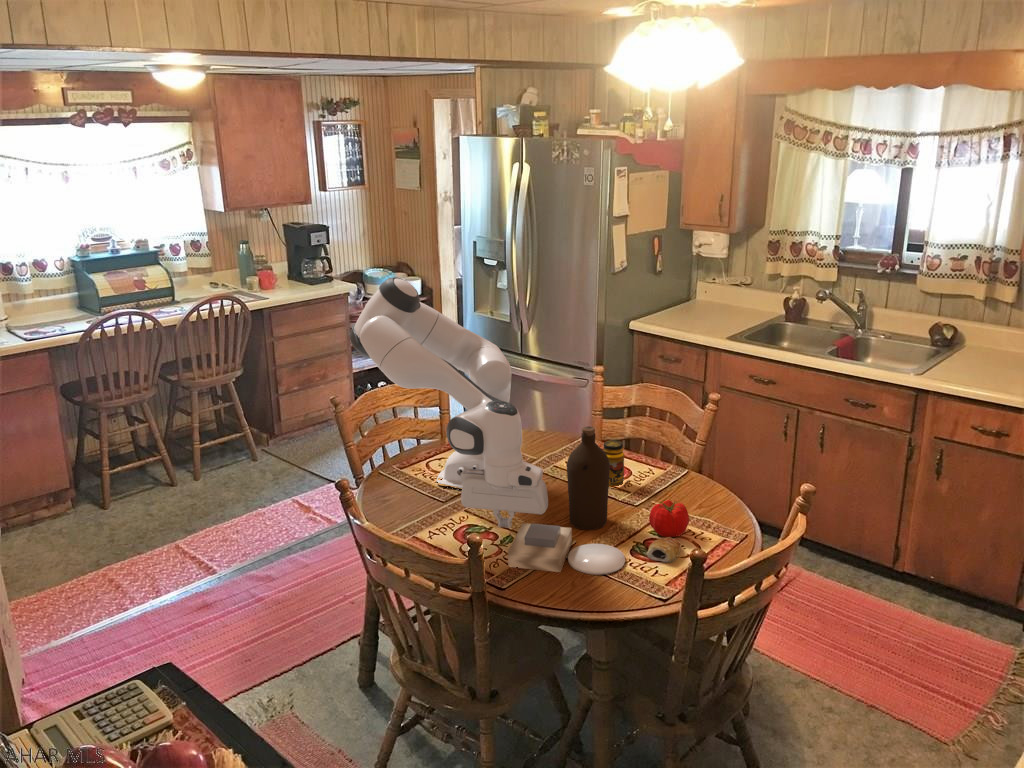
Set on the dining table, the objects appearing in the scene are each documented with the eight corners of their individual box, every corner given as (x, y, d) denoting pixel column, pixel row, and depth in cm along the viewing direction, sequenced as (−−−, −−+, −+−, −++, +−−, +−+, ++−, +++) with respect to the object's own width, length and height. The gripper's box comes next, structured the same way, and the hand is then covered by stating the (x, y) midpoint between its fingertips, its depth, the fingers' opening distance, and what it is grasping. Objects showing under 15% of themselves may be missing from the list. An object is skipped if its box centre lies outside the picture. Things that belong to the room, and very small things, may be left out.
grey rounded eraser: (524, 544, 191) (524, 537, 191) (531, 531, 198) (531, 523, 197) (554, 547, 190) (554, 540, 189) (560, 533, 196) (560, 526, 196)
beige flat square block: (508, 566, 190) (508, 550, 189) (523, 538, 203) (522, 523, 202) (560, 572, 187) (560, 556, 186) (571, 543, 200) (571, 527, 199)
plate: (562, 571, 188) (562, 568, 187) (573, 544, 200) (573, 541, 199) (621, 577, 184) (621, 574, 184) (628, 549, 196) (628, 546, 196)
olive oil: (616, 527, 207) (617, 432, 200) (576, 534, 204) (576, 438, 197) (599, 509, 217) (599, 418, 210) (561, 516, 214) (560, 424, 207)
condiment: (618, 490, 228) (619, 449, 225) (590, 484, 233) (590, 444, 229) (629, 481, 234) (630, 440, 231) (602, 475, 238) (602, 435, 235)
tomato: (691, 528, 206) (692, 500, 204) (683, 544, 198) (684, 515, 196) (654, 522, 210) (654, 494, 208) (644, 537, 202) (645, 509, 200)
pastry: (660, 542, 200) (660, 527, 199) (687, 549, 196) (687, 534, 195) (644, 559, 192) (645, 544, 191) (672, 566, 189) (673, 551, 188)
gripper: (455, 473, 191) (458, 528, 195) (543, 480, 186) (544, 536, 190) (464, 462, 197) (466, 516, 201) (549, 469, 191) (550, 524, 195)
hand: (504, 526), depth 195 cm, fingers closed
